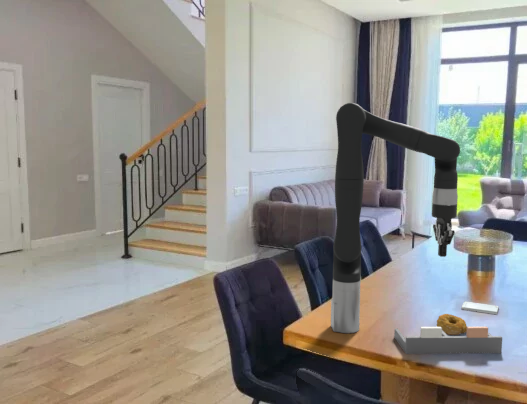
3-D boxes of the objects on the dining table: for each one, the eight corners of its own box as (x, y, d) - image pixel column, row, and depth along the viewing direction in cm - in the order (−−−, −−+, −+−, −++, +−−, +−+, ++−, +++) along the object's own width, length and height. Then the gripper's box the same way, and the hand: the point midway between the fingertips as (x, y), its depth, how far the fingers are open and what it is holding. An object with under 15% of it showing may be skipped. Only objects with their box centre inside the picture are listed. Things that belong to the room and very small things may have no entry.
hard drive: (499, 305, 199) (464, 300, 205) (497, 311, 192) (461, 306, 198) (498, 309, 199) (464, 304, 205) (497, 316, 192) (461, 310, 198)
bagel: (435, 334, 173) (436, 320, 172) (436, 323, 183) (437, 310, 183) (467, 338, 169) (468, 324, 169) (467, 327, 180) (468, 314, 179)
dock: (406, 354, 157) (407, 328, 156) (394, 337, 170) (395, 313, 169) (501, 353, 157) (503, 327, 156) (482, 336, 170) (483, 313, 169)
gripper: (425, 199, 171) (423, 251, 173) (440, 205, 158) (437, 261, 160) (448, 199, 171) (446, 251, 173) (464, 205, 158) (462, 261, 160)
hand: (442, 256), depth 167 cm, fingers closed
